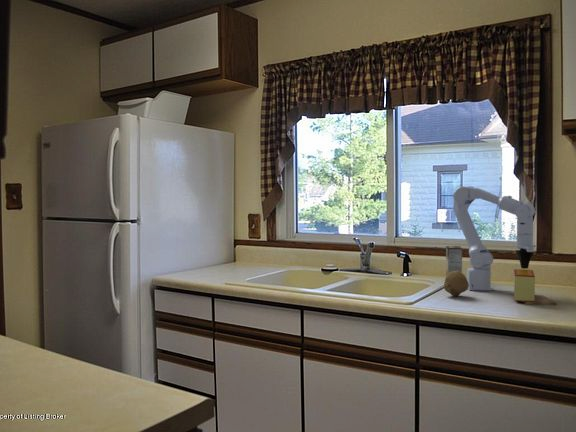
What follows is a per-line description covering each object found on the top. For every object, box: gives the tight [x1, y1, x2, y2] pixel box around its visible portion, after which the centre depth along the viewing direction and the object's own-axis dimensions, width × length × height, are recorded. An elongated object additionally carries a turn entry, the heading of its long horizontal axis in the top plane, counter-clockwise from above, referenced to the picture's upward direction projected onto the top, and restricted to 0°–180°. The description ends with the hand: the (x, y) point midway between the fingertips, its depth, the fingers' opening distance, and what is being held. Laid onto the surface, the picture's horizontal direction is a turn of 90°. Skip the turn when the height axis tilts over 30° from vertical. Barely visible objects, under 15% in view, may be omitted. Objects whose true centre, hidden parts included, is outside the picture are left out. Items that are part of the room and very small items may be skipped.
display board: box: [521, 294, 557, 306], centre depth 188 cm, size 10×14×1 cm
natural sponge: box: [443, 271, 469, 297], centre depth 198 cm, size 9×9×10 cm
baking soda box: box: [513, 268, 536, 302], centre depth 190 cm, size 10×6×16 cm
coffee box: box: [445, 245, 463, 277], centre depth 231 cm, size 9×6×16 cm
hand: (524, 268), depth 200 cm, fingers closed
